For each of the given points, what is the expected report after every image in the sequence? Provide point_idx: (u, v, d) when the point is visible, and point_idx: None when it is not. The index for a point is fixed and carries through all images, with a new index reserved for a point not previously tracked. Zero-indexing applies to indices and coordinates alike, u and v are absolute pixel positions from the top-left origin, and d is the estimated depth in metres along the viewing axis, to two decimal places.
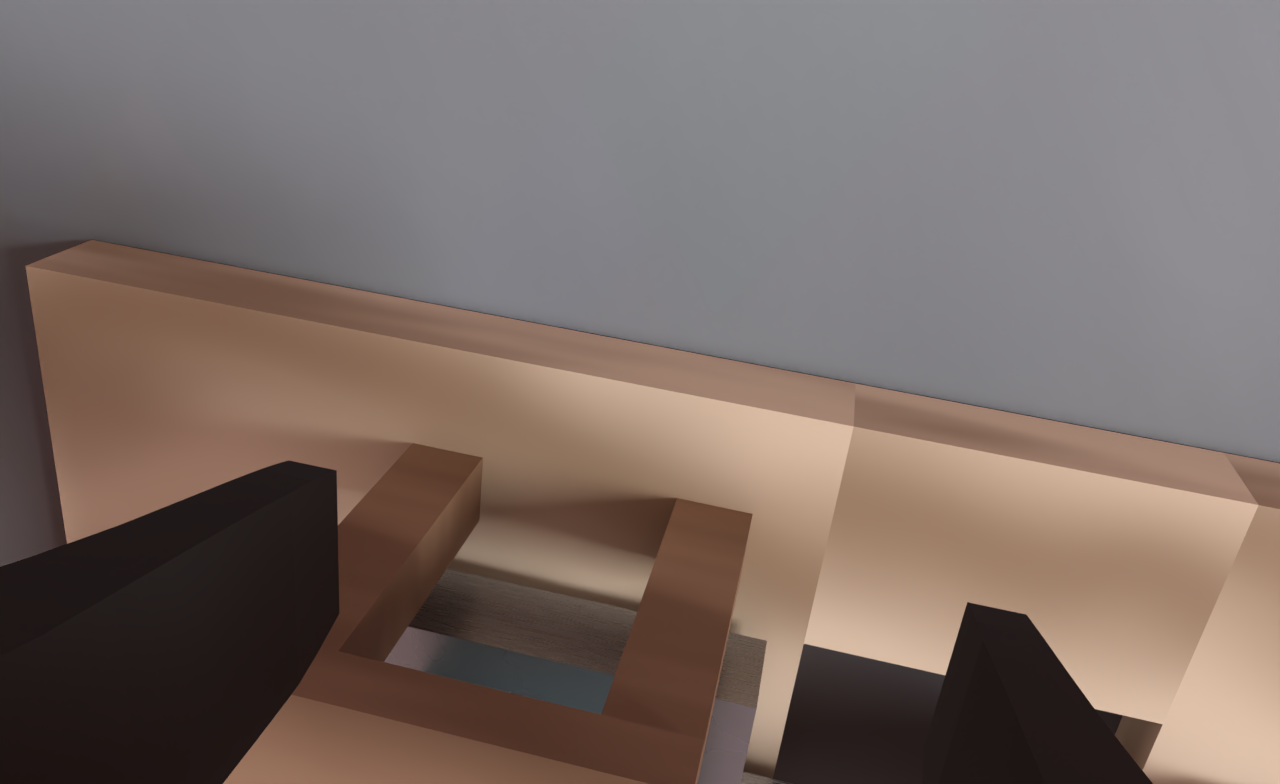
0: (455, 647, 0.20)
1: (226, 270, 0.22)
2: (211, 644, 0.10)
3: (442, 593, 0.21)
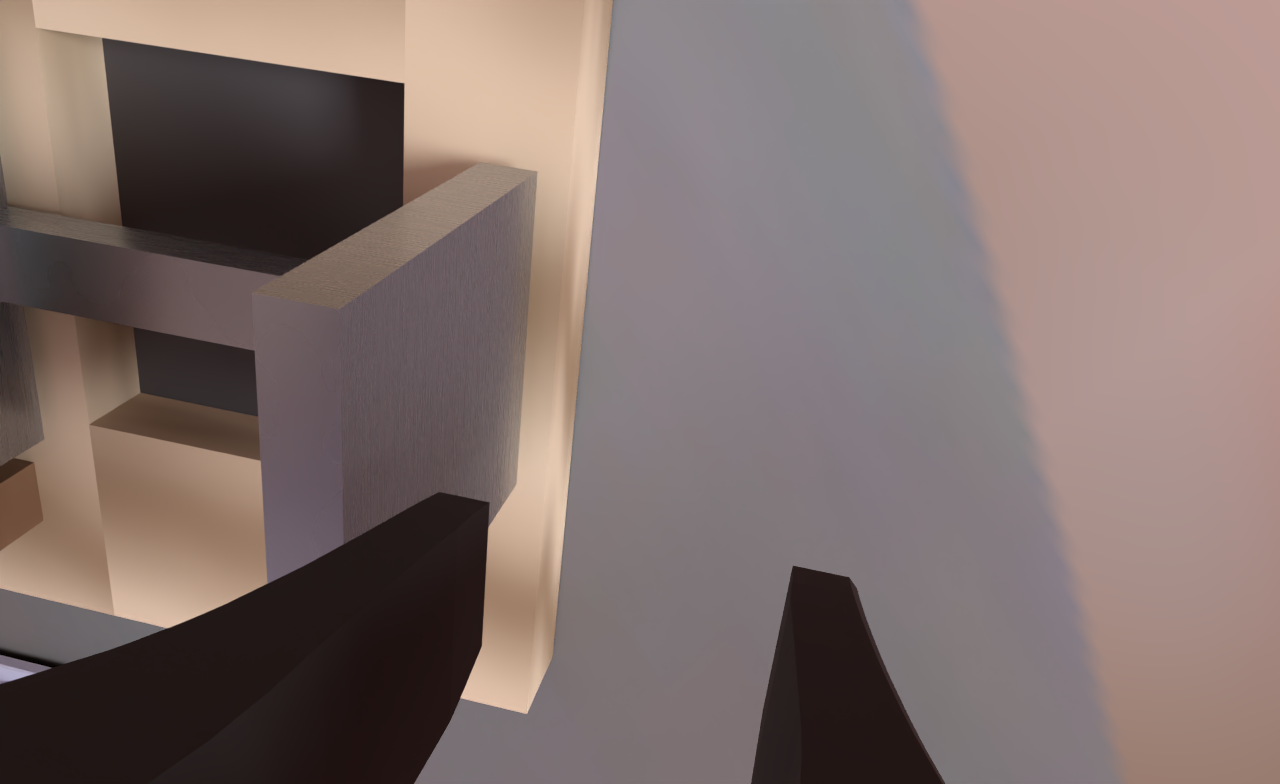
0: None
1: None
2: (389, 686, 0.10)
3: None
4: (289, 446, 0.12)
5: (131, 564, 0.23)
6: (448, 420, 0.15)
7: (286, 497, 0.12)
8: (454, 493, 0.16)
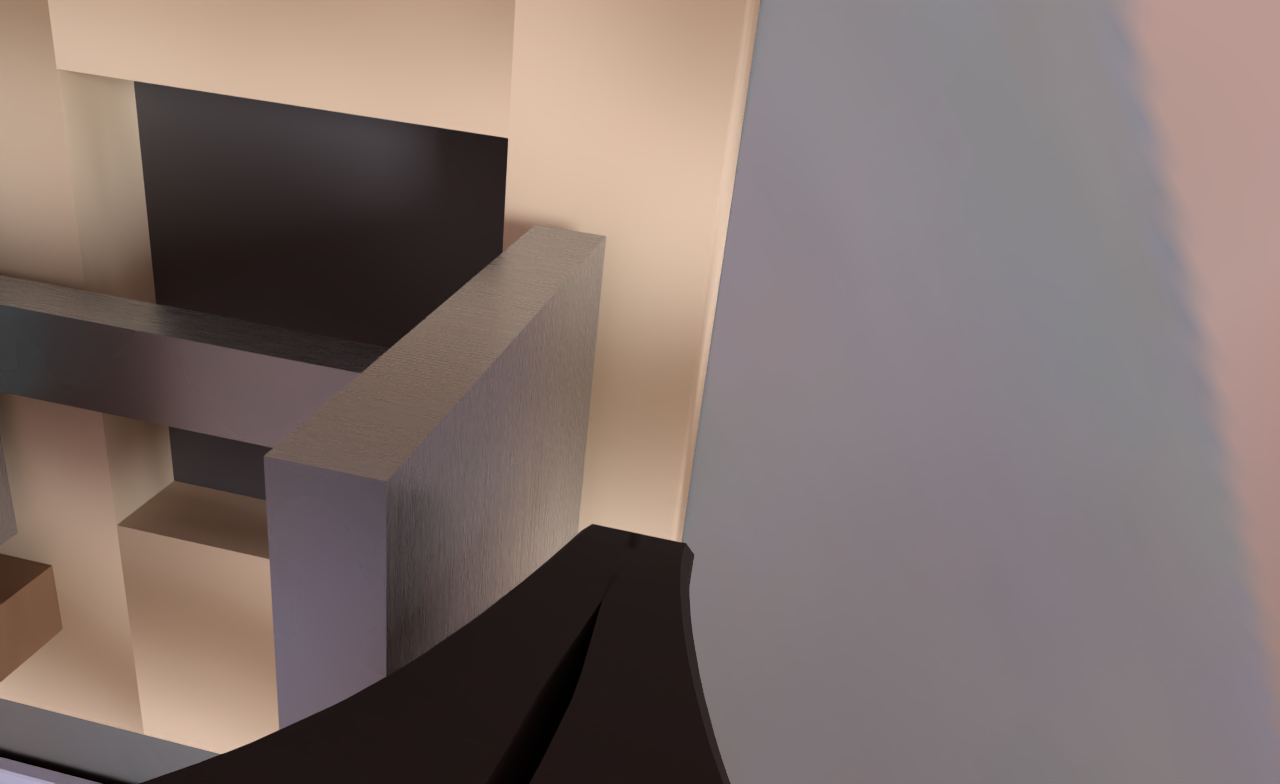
0: None
1: None
2: None
3: None
4: (314, 650, 0.09)
5: (164, 680, 0.20)
6: (506, 560, 0.12)
7: (309, 709, 0.09)
8: None
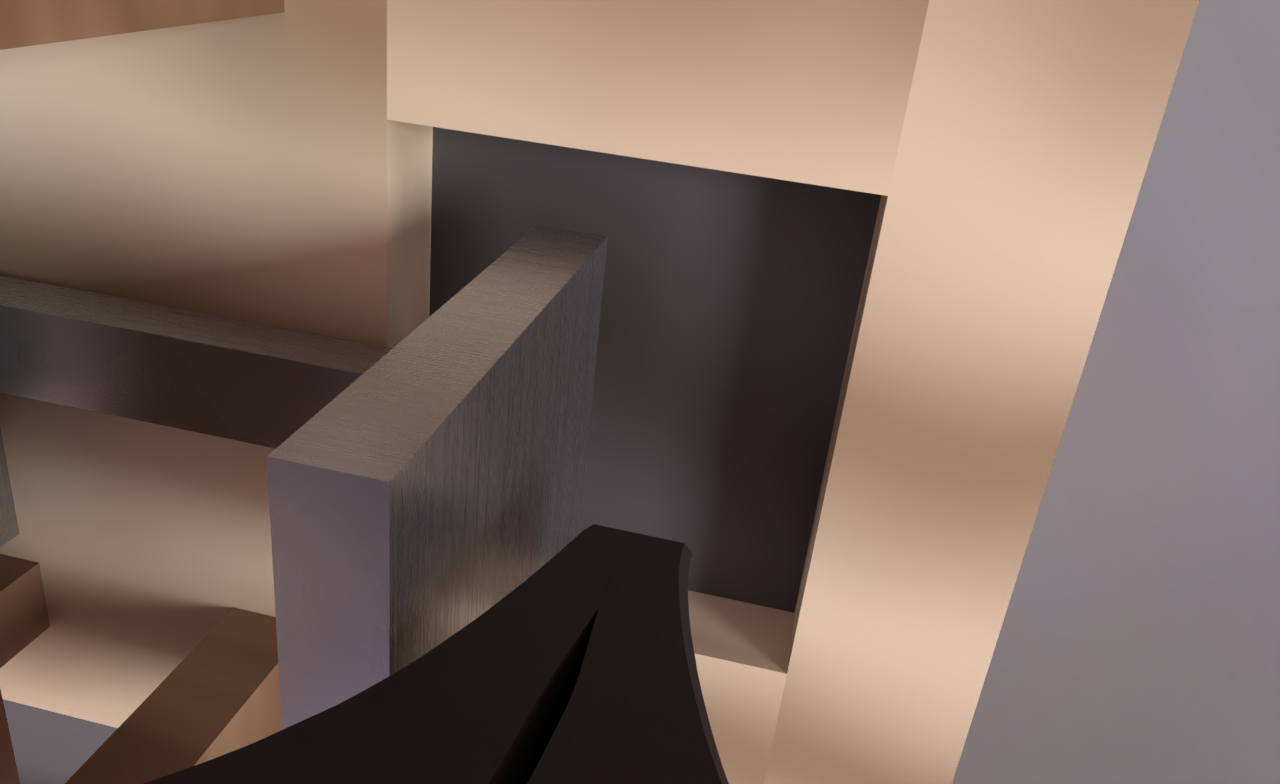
0: None
1: None
2: None
3: None
4: (317, 650, 0.09)
5: None
6: (508, 561, 0.12)
7: (312, 711, 0.09)
8: None
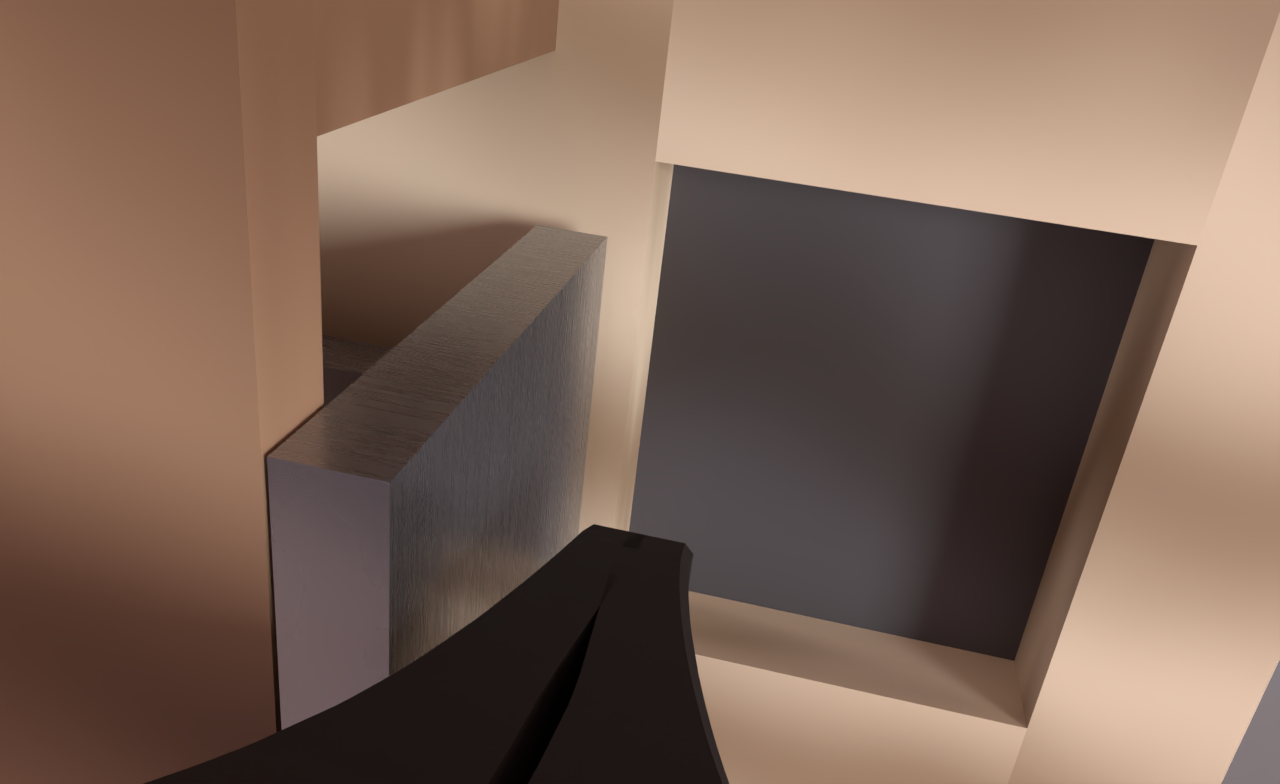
0: None
1: None
2: None
3: None
4: (317, 650, 0.09)
5: None
6: (507, 561, 0.12)
7: (313, 710, 0.09)
8: None
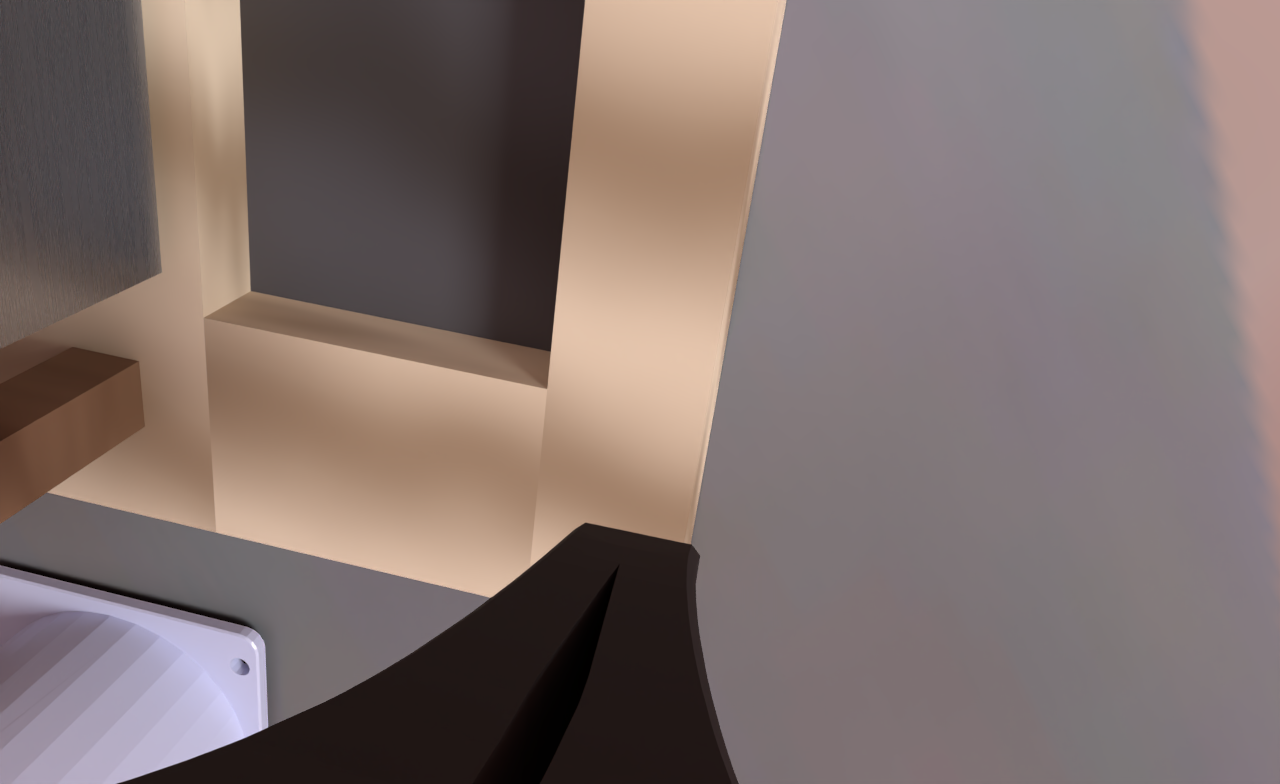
0: None
1: None
2: (563, 728, 0.09)
3: None
4: None
5: (239, 475, 0.21)
6: None
7: None
8: (15, 230, 0.16)
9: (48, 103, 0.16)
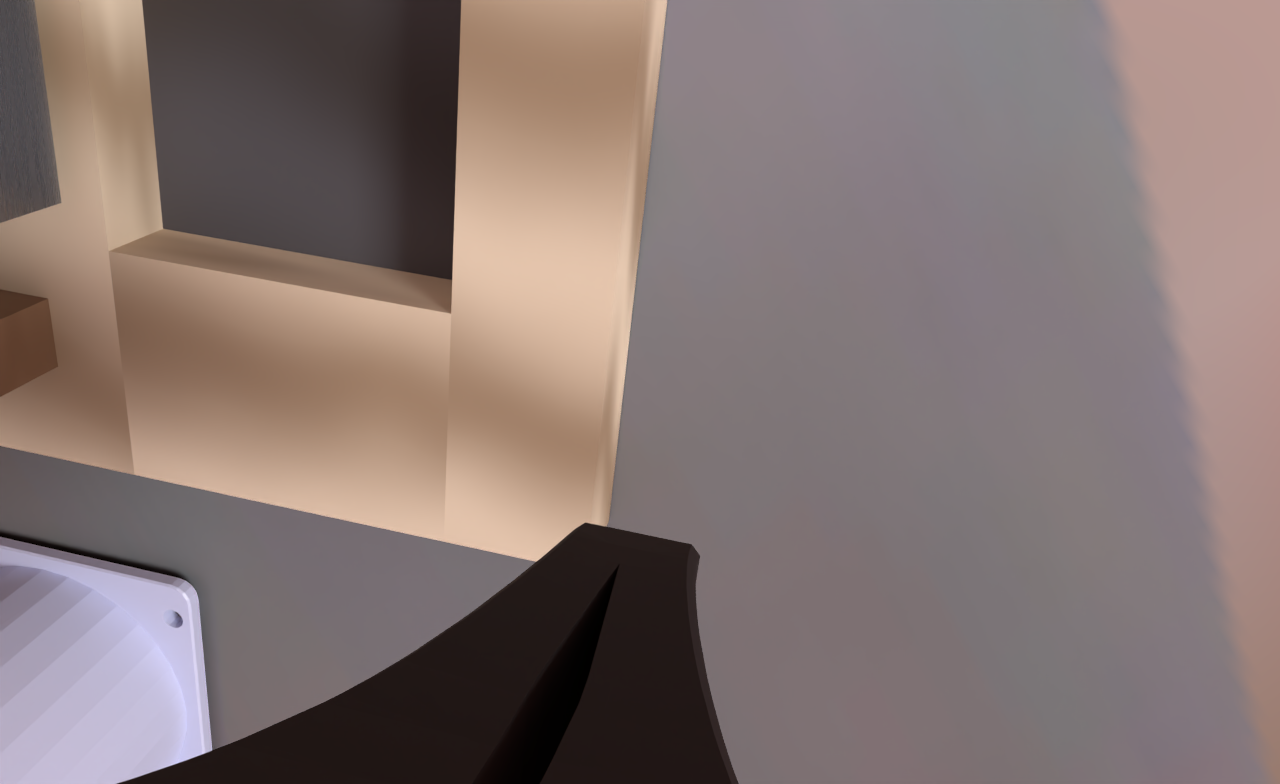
0: None
1: None
2: (564, 727, 0.09)
3: None
4: None
5: (153, 414, 0.21)
6: None
7: None
8: None
9: None
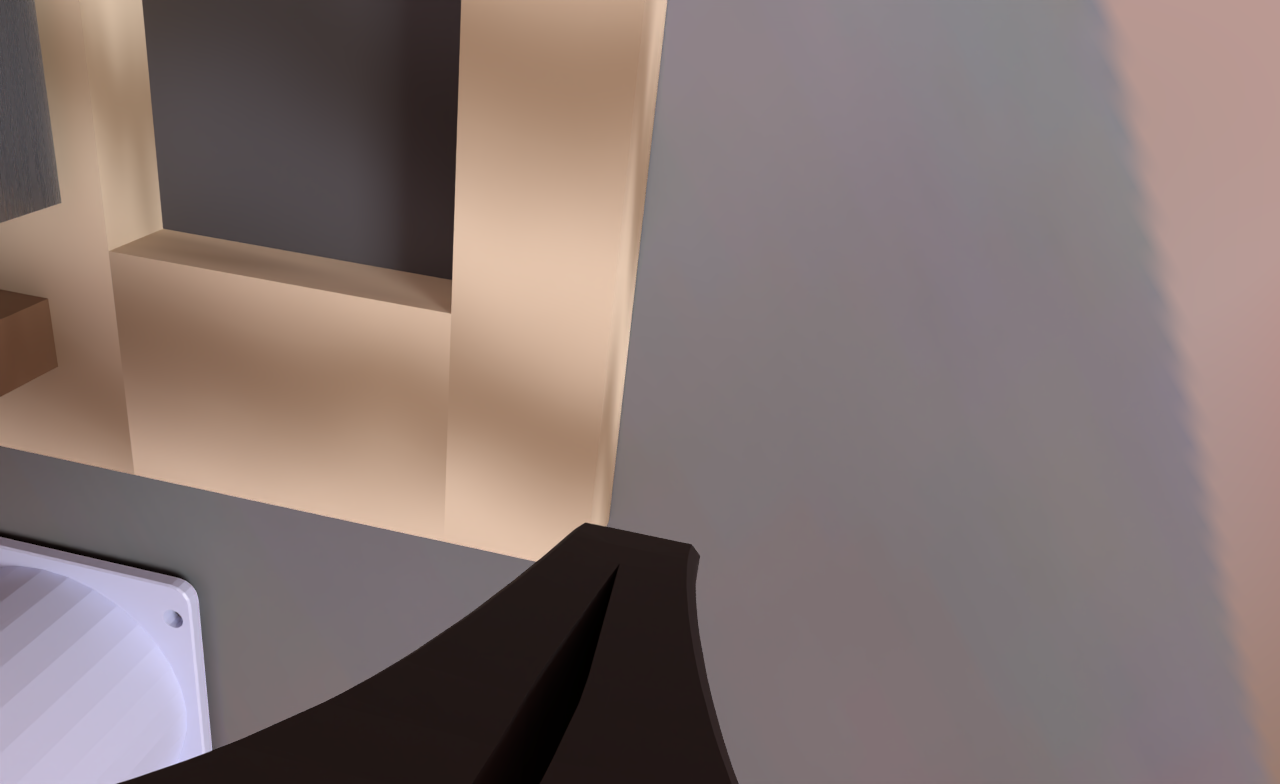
0: None
1: None
2: (564, 727, 0.09)
3: None
4: None
5: (153, 414, 0.21)
6: None
7: None
8: None
9: None
